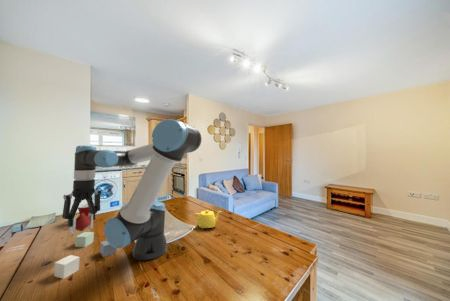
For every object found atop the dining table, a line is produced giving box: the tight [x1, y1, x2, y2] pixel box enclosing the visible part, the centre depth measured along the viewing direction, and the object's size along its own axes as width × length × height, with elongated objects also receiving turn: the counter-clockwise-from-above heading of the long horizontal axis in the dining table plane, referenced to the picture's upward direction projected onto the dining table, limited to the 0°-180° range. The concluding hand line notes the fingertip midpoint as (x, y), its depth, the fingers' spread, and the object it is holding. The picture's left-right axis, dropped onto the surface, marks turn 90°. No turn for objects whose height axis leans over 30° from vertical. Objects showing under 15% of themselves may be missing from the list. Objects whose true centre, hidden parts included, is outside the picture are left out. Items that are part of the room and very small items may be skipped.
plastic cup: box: [77, 202, 95, 216], centre depth 110 cm, size 11×11×12 cm
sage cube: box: [74, 231, 95, 248], centre depth 83 cm, size 5×5×5 cm
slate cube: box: [99, 240, 117, 258], centre depth 77 cm, size 5×5×5 cm
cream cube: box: [53, 254, 81, 280], centre depth 63 cm, size 5×5×5 cm
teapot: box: [194, 209, 222, 229], centre depth 109 cm, size 18×11×11 cm, turn 96°
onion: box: [75, 213, 90, 232], centre depth 75 cm, size 6×6×8 cm
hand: (81, 230), depth 75 cm, fingers closed on onion, 6 cm apart
